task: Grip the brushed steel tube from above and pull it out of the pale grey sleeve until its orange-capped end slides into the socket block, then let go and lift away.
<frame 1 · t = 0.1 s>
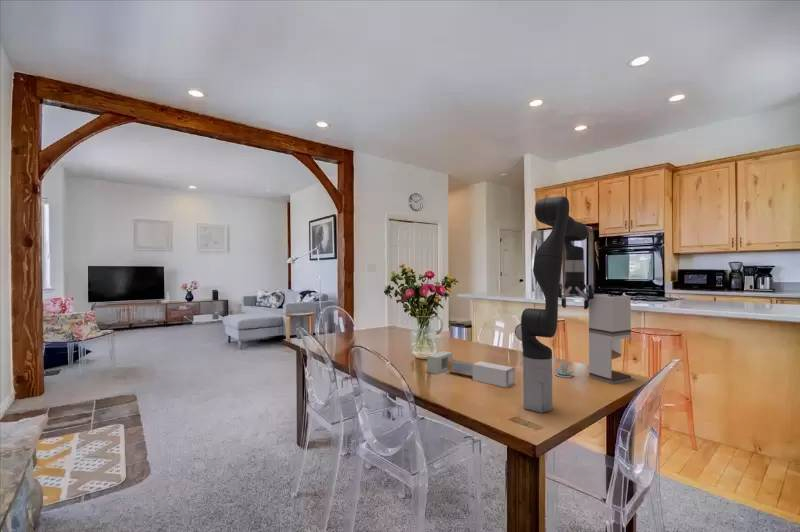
hand: (574, 308, 158), 29 cm above the table, tool pointing down, fingers open, 8 cm apart
grey notched tower: (609, 379, 153), on the table
socket block: (439, 370, 168), on the table
steel tube: (475, 369, 156), point 4 cm above the table, slide at 0.0 cm
magnifying glass: (524, 365, 175), on the table
pacifier: (563, 376, 158), on the table
grey sleeve: (493, 381, 150), on the table
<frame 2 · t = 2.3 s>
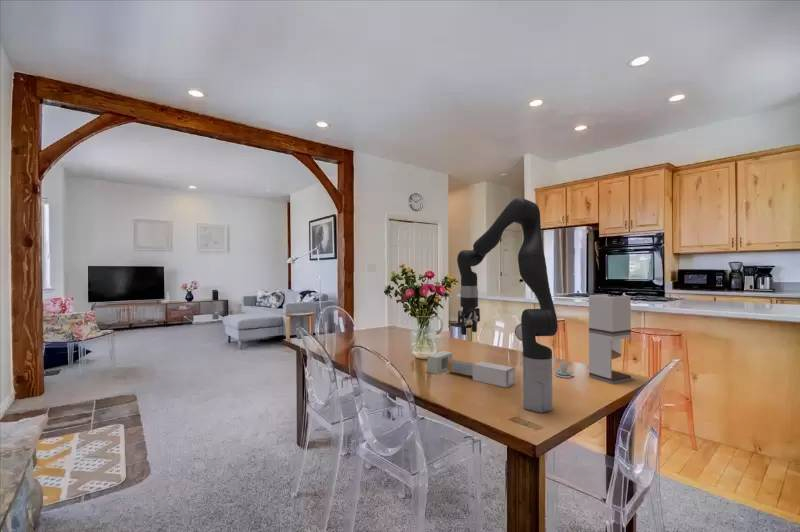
hand: (469, 333, 159), 19 cm above the table, tool pointing down, fingers open, 8 cm apart
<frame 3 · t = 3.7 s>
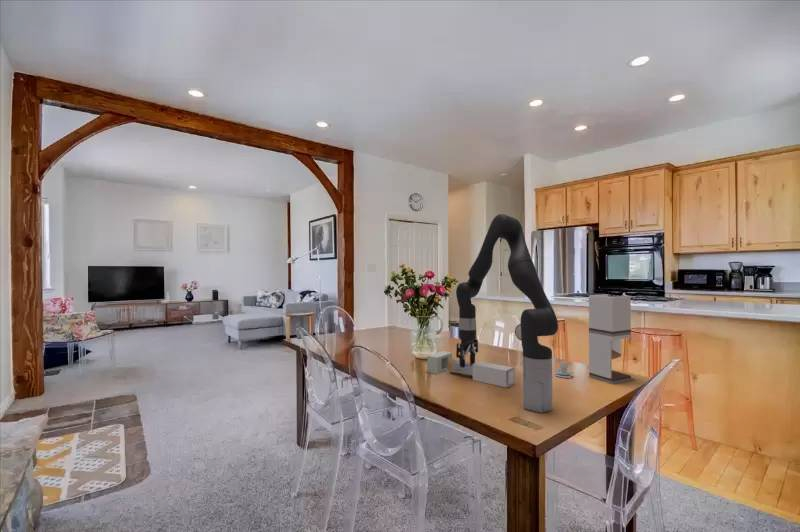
hand: (467, 365, 159), 5 cm above the table, tool pointing down, fingers open, 8 cm apart
nothing on the table moved.
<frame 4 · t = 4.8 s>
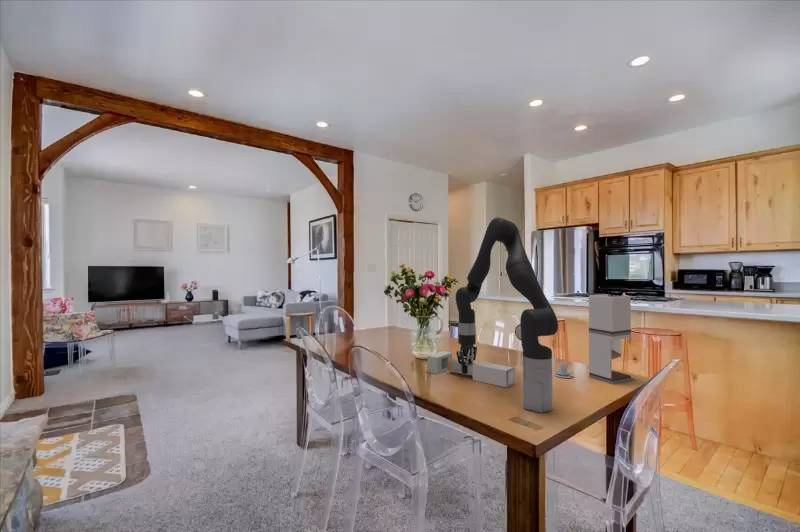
hand: (467, 372, 158), 2 cm above the table, tool pointing down, fingers closed on steel tube, 4 cm apart
steel tube: (475, 369, 156), point 3 cm above the table, slide at 0.0 cm, touching gripper
everything else where it was.
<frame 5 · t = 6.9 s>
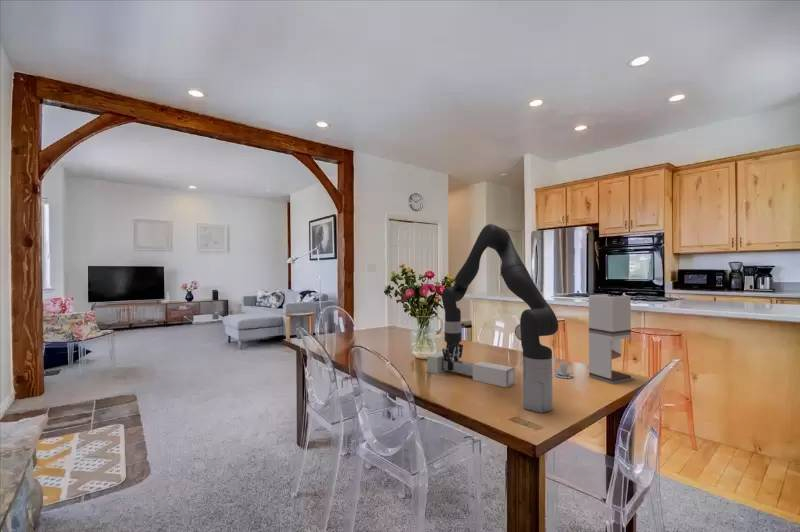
hand: (453, 369, 163), 2 cm above the table, tool pointing down, fingers closed on steel tube, 4 cm apart
steel tube: (461, 366, 160), point 4 cm above the table, slide at 7.2 cm, touching gripper
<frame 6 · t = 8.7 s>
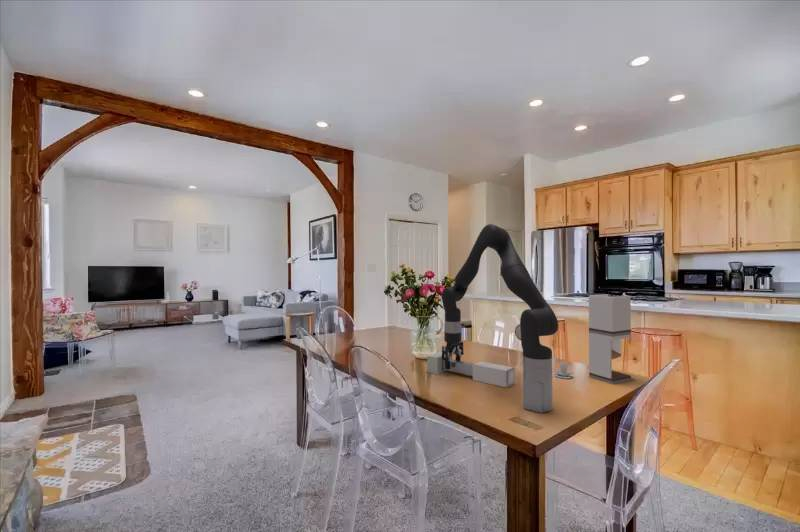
hand: (453, 367, 163), 3 cm above the table, tool pointing down, fingers open, 8 cm apart
steel tube: (461, 366, 160), point 3 cm above the table, slide at 7.1 cm
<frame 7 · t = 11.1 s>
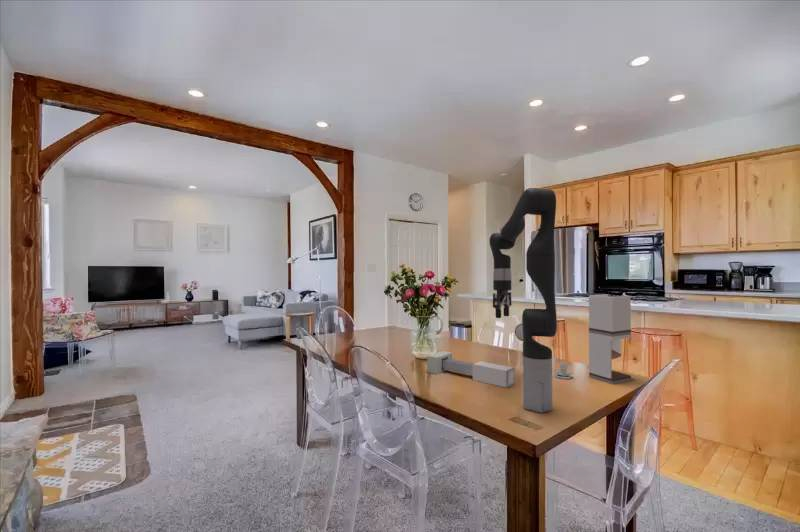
hand: (502, 317, 156), 26 cm above the table, tool pointing down, fingers open, 8 cm apart
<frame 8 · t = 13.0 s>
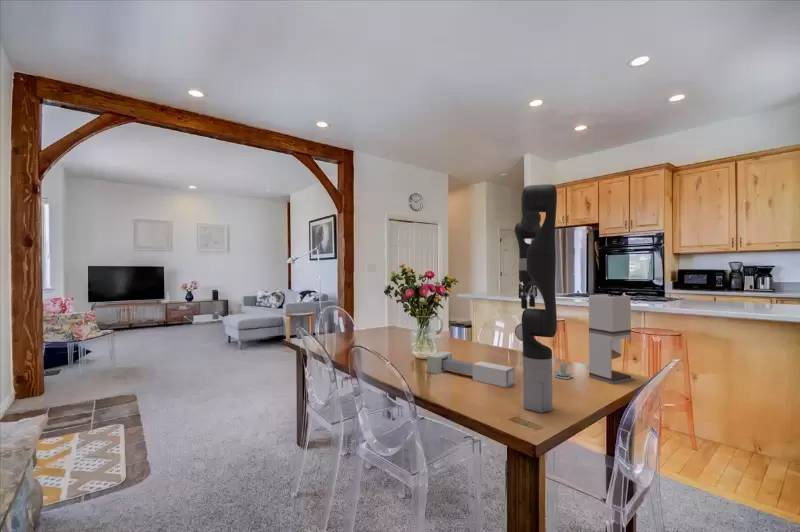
hand: (528, 307, 154), 30 cm above the table, tool pointing down, fingers open, 8 cm apart
at the end: steel tube slide at 7.1 cm; the gripper is holding nothing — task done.
